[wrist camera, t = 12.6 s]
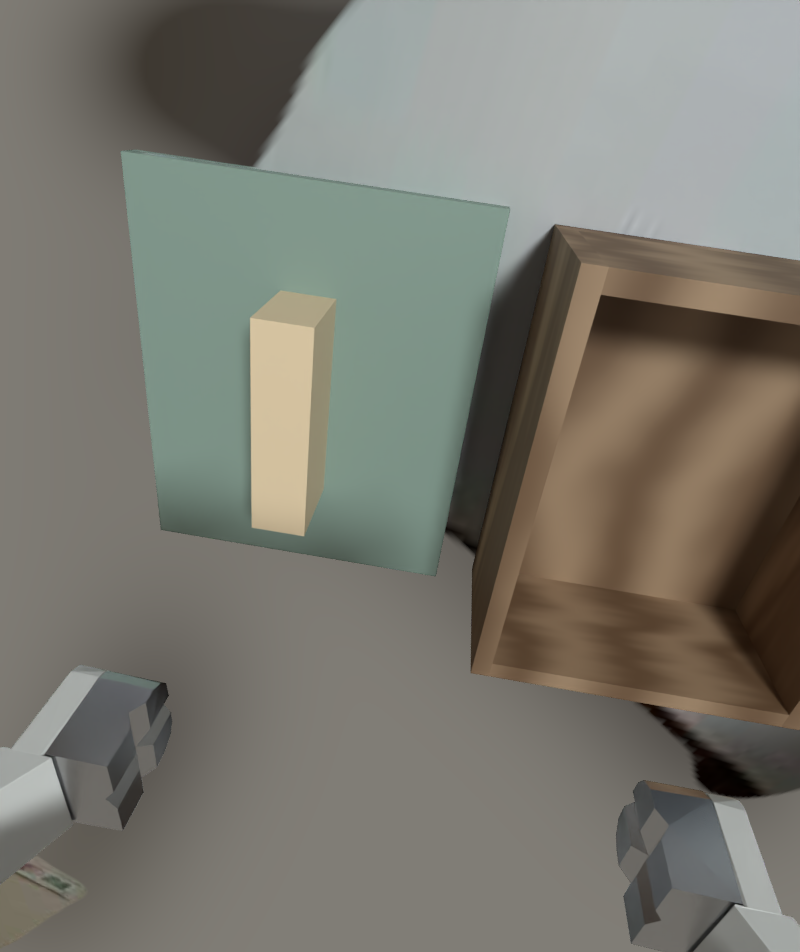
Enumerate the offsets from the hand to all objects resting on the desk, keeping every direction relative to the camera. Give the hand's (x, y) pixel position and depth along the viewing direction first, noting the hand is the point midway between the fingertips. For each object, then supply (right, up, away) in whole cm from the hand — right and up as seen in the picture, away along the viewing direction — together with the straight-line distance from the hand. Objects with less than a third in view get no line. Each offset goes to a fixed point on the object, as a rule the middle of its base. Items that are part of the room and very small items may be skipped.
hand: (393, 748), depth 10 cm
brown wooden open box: (+15, +6, +25) cm, 30 cm away
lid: (-5, +10, +26) cm, 28 cm away
